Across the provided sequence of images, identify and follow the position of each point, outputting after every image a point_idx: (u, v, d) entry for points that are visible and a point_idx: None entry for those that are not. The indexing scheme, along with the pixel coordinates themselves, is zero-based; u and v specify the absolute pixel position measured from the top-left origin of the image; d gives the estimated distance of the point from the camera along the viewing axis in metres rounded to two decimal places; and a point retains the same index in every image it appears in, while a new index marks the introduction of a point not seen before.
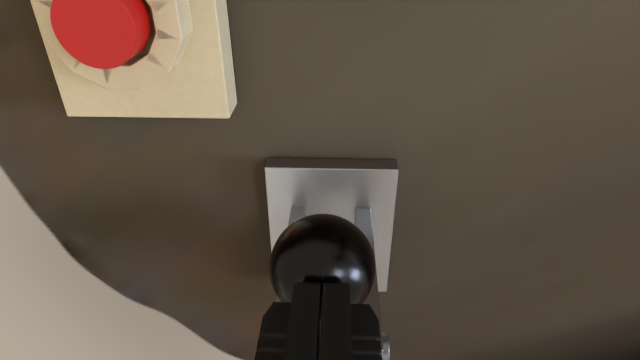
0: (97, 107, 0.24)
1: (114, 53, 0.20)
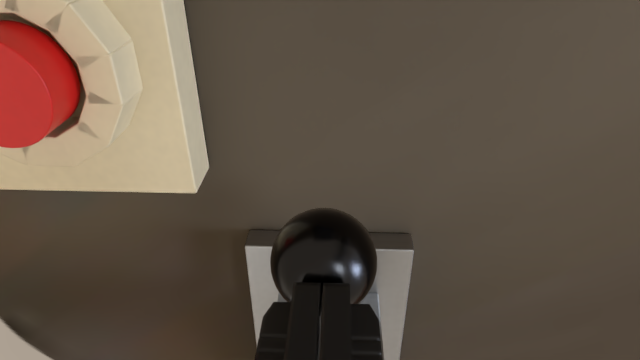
0: (25, 179, 0.19)
1: (23, 128, 0.14)
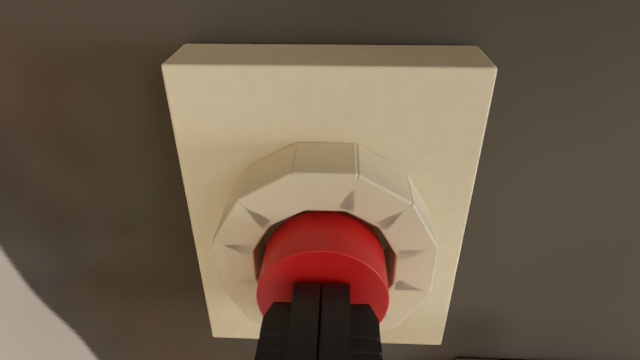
0: (258, 329, 0.18)
1: None
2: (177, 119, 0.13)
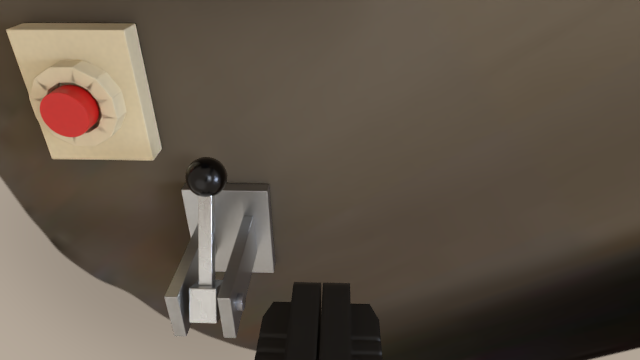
0: (70, 153, 0.39)
1: (76, 129, 0.34)
2: (15, 51, 0.34)
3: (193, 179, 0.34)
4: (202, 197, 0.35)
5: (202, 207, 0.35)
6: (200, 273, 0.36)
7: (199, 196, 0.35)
